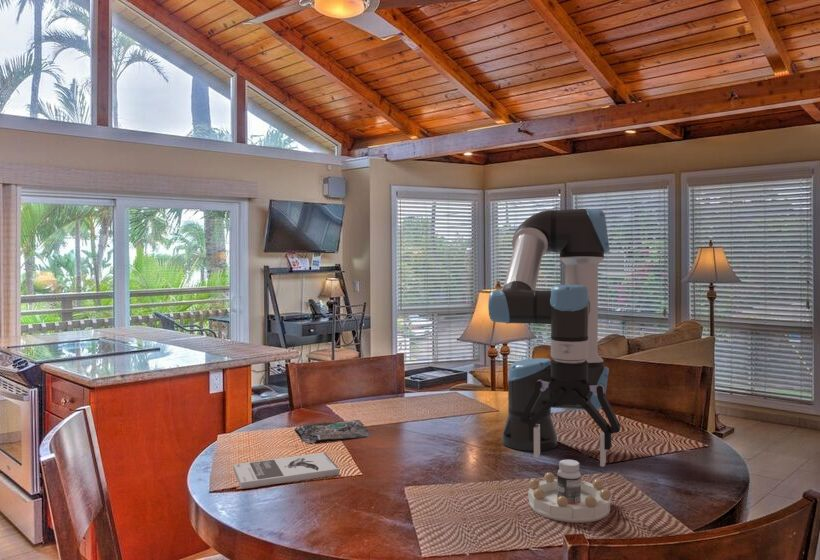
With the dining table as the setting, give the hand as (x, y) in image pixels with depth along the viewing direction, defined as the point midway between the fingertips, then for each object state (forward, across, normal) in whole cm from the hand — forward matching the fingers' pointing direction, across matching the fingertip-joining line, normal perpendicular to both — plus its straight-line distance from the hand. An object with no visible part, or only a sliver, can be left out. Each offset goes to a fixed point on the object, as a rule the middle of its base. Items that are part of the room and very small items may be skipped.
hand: (569, 460), depth 132 cm
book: (+10, -67, -7) cm, 68 cm away
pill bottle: (+9, 0, -1) cm, 9 cm away
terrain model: (+11, -73, +26) cm, 79 cm away
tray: (+9, 0, -1) cm, 10 cm away
